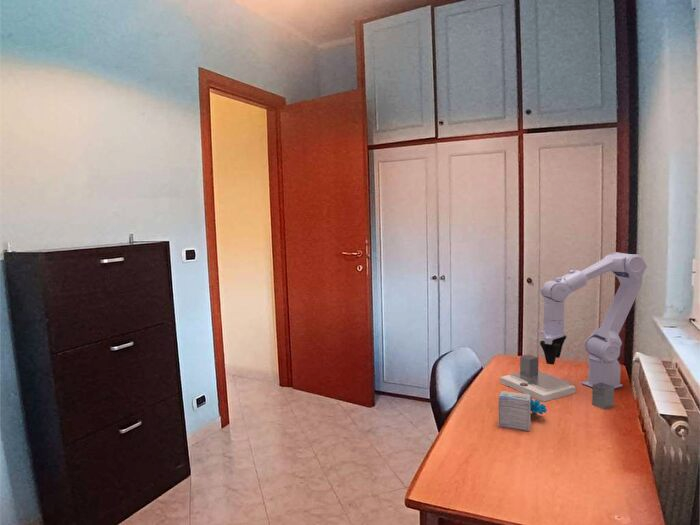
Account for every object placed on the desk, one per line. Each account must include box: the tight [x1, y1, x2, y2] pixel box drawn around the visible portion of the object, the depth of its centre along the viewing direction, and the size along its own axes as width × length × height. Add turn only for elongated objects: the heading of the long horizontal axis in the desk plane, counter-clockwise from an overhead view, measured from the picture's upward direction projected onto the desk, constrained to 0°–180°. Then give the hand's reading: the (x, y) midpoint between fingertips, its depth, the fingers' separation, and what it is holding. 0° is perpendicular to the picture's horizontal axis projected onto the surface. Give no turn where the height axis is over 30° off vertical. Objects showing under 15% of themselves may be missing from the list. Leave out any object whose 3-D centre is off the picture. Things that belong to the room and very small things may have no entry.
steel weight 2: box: [591, 382, 615, 410], centre depth 134 cm, size 4×4×6 cm
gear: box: [531, 397, 548, 415], centre depth 128 cm, size 11×6×10 cm
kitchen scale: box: [499, 370, 576, 403], centre depth 149 cm, size 14×18×3 cm
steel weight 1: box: [519, 354, 539, 377], centre depth 153 cm, size 4×4×6 cm
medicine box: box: [497, 390, 532, 432], centre depth 123 cm, size 8×4×9 cm, turn 65°
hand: (553, 360), depth 146 cm, fingers open, 7 cm apart
